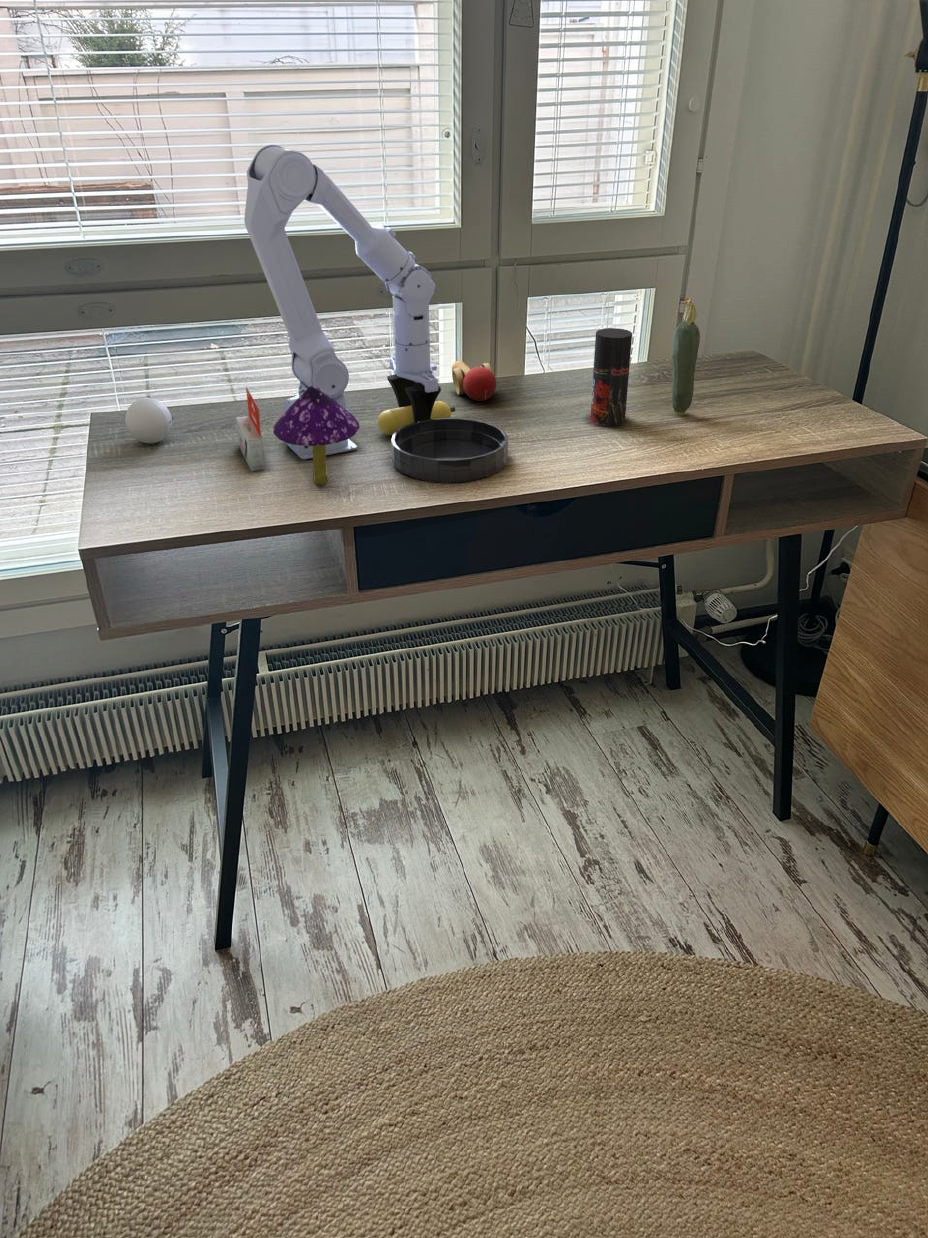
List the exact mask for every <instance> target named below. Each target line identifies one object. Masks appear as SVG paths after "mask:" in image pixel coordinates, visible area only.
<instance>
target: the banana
mask: <svg viewBox="0 0 928 1238" xmlns="http://www.w3.org/2000/svg"><path fill="white" fill-rule="evenodd" d="M455 412H456V406H453V405H452V406H449V404H448V403H446V402H444V401H442V400H436V401H435V403H434V406H433V409H432V413H431V418H430V419H437V418H452V413H455ZM412 423H414V417H413V410H412V406H406V407H400V408H399V407H396V408H389V409H385V410H384V411H382V412H381V413H380V414H379V415H378V417H377V427H378V429H379V430H380V431H381V433H383V434H384V435H386V436H393V434H394V433H395V432H396V431H397V430H398V429H400V428H402V427H404V426H406V425H409V424H412Z"/></svg>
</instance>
